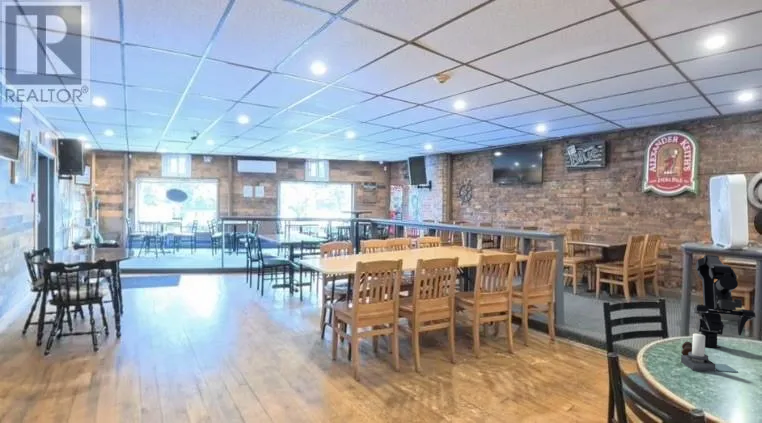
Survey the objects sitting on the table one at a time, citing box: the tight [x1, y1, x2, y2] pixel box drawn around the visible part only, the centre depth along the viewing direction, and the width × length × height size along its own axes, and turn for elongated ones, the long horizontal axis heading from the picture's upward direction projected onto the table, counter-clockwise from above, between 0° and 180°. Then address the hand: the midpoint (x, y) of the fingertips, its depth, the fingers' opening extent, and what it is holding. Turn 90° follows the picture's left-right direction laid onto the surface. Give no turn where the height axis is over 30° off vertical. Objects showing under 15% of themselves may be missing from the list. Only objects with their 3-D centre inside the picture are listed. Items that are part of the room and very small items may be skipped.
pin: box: [688, 333, 709, 362], centre depth 167 cm, size 6×6×13 cm
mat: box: [714, 363, 739, 373], centre depth 166 cm, size 7×7×1 cm
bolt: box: [680, 341, 692, 355], centre depth 181 cm, size 6×5×15 cm
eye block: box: [680, 354, 716, 373], centre depth 167 cm, size 8×8×3 cm
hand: (725, 333), depth 168 cm, fingers open, 9 cm apart
